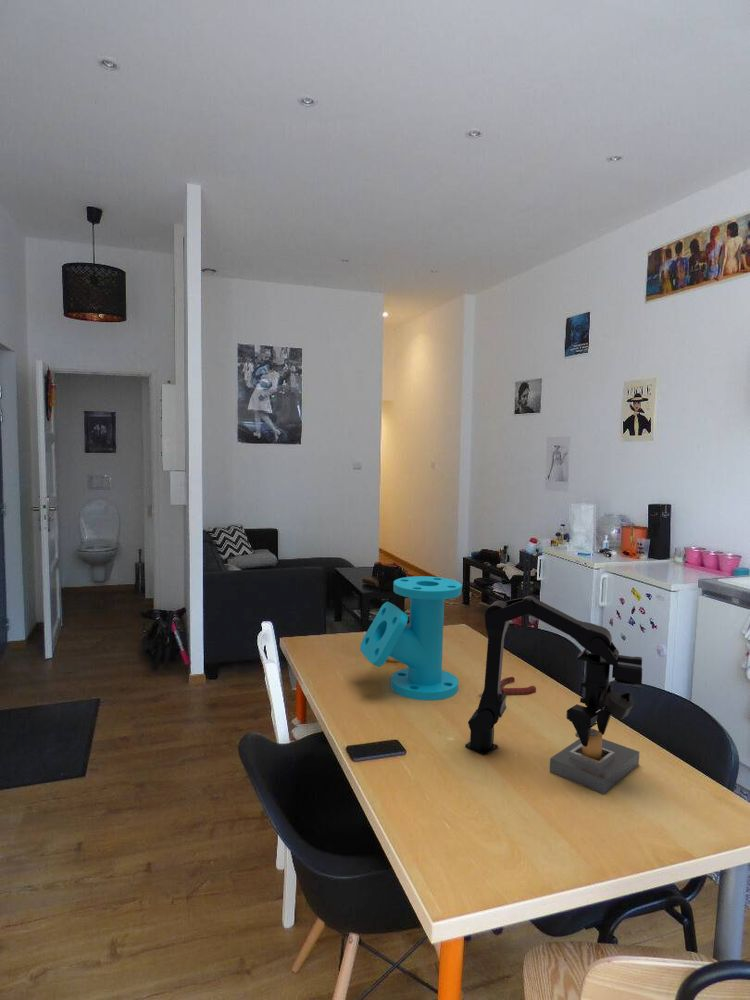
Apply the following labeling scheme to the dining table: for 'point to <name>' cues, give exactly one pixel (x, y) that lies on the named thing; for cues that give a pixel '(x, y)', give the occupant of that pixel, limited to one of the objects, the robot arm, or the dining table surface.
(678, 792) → the dining table surface
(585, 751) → the cylinder
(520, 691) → the pliers
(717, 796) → the dining table surface
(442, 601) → the pipe fitting
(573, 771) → the sink basin plate
